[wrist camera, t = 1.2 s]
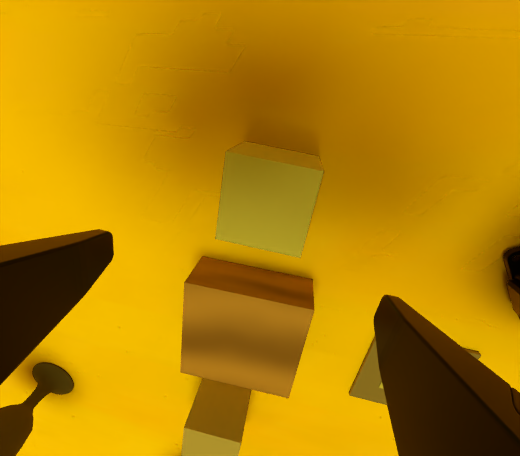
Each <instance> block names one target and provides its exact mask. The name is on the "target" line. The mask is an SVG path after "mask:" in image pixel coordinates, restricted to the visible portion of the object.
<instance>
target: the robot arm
mask: <svg viewBox="0 0 520 456" xmlns="http://www.w3.org/2000/svg"><path fill="white" fill-rule="evenodd" d="M113 255H114V251H113V236H112V234H111V233H110V232H109V231H104V230H100V229H97V230H91V231H85V232H79V233H73V234H67V235H61V236H55V237H49V238H43V239H37V240H31V241H25V242H19V243H13V244H7V245H1V246H0V385H1V384H2V383H3V382H4V381H5V380H6V378H7V377H8V376H9V375H10V374H11V373H12V372H13V371H14V370H15V369H16V368H17V367H18V366H19V365H20V364H21V363H22V361H23V360H24V359H25V358H26V357H27V356H28V355H29V354H30V353H31V352H32V351H33V350H34V349H35V348H36V347H37V346H38V345H39V343H40V342H41V341H42V340H43V339H44V338H45V337H46V336H47V335H48V334H49V333H50V332H51V331H52V330H53V329H54V328H55V326H56V325H57V324H58V323H59V322H60V321H61V320H62V319H63V318H64V317H65V316H66V315H67V314H68V313H69V312H70V311H71V310H72V308H73V307H74V306H75V305H76V304H77V303H78V302H79V301H80V300H81V299H82V298H83V297H84V295H85V294H86V293H87V292H88V291H89V289H90V288H91V287H92V285H93V284H94V283H95V281H96V280H97V279H98V278H99V276H100V275H101V274H102V272H103V271H104V270H105V268H106V267H107V266H108V265H109V263H110V262H111V260H112V258H113ZM515 255H516V257H515V258H513V259H512V257H513V256H515ZM503 258H504V262H505V266H506V269H507V273H508V277H509V280H508V282H507V288H508V291H509V295H510V299H511V302H512V306H513V309H514V311H515V312H516V313H517V314H518V315H519V318H520V246H519V247H516V248H513V249H510V250H508V251H507V252H505V254H504V256H503ZM374 330H375V339H376V348H377V357H378V365H379V371H380V376H381V380H382V384H383V389H384V393H385V397H386V402H387V406H388V411H389V415H390V419H391V424H392V428H393V433H394V437H395V441H396V446H397V450H398V455H399V456H520V393H519V392H518V391H517V390H516V389H514V388H511V387H510V385H509V384H508V383H507V382H505V381H504V380H503V379H502V378H500V377H499V376H498V375H496V374H495V373H494V372H493V371H491V370H490V369H489V368H488V367H486V366H485V365H484V364H483V363H481V362H480V361H479V360H477V359H476V358H475V357H474V356H472V355H471V354H470V353H469V352H467V351H466V350H465V349H464V348H462V347H461V346H460V345H458V344H457V343H456V342H455V341H453V340H452V339H451V338H450V337H448V336H447V335H446V334H445V333H443V332H442V331H441V330H439V329H438V328H437V327H436V326H434V325H433V324H432V323H431V322H429V321H428V320H427V319H425V318H424V317H423V316H422V315H420V314H419V313H418V312H417V311H415V310H414V309H413V308H412V307H410V306H409V305H408V304H406V303H405V302H404V301H403V300H401V299H400V298H399V297H395V296H391V295H384V296H383V297H382V299H381V301H380V304H379V306H378V308H377V310H376V313H375V315H374Z"/></svg>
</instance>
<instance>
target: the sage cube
mask: <svg viewBox="0 0 520 456" xmlns="http://www.w3.org/2000/svg"><path fill="white" fill-rule="evenodd" d="M323 174H324V170H323V167H322V164H321V161H320V158H319V156H316V155H311V154H306V153H301V152H296V151H291V150H286V149H281V148H276V147H271V146H266V145H261V144H256V143H251V142H246V141H244V142H242V143H240V144H238V145H237V146H235V147H233V148H231V149H229V150H227V151H226V153H225V161H224V170H223V178H222V186H221V195H220V203H219V212H218V220H217V228H216V237H215V239H218V240H223V241H227V242H232V243H236V244H241V245H245V246H249V247H254V248H258V249H263V250H267V251H272V252H276V253H281V254H285V255H290V256H294V257H298V258H301V254H302V251H303V247H304V243H305V240H306V236H307V232H308V229H309V225H310V221H311V218H312V214H313V210H314V207H315V203H316V199H317V196H318V192H319V188H320V185H321V181H322V177H323Z"/></svg>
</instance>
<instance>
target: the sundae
mask: <svg viewBox="0 0 520 456" xmlns="http://www.w3.org/2000/svg"><path fill="white" fill-rule="evenodd" d="M32 372H33V377H34V379H35V380H36V381H37V382H38V385H37V387H36V389H35V390H34V392H33V393H32V394H31V395H30V396H29V397H28V398H27V399H26V400H25V401H24V402H23V403H22V404H18V405H9V406H6V407H3V408H0V456H16V454H17V453H18V452H19V450H20V449H21V447H22V446H23V444H24V443H25V441H26V439H27V438H28V436H29V434H30V433H31V431H32V427H33V408H34V407H35V406H36V405H37V404H38V403H39V402H40V401H41V400H42V399H43V398H44V397H45V396H46V395H47V394H49V393H50V392H52V393H55V394H61V395H62V394H67V393H70V392H71V391H72V390H73V381H72V378H71V377H70V376H69V374H68V373H67V372H66V371H64V370H63V369H62V368H60V367H58V366H56V365H54V364H50V363H39V364H37V365H35V366H34V368H33V371H32Z"/></svg>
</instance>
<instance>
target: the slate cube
mask: <svg viewBox="0 0 520 456" xmlns="http://www.w3.org/2000/svg"><path fill="white" fill-rule="evenodd" d="M250 393H251V389H248V388H244V387H240V386H235V385H231V384H227V383H223V382H219V381H214V380H210V379H206V378H203V379H202V381H201V384H200V387H199V389H198V392H197V395H196V397H195V400H194V403H193V405H192V408H191V411H190V413H189V416H188V419H187V421H186V424H185V426H184V433H183V444H182V454H181V456H238V454H239V450H240V446H241V441H242V436H243V430H244V425H245V420H246V415H247V409H248V404H249V399H250Z"/></svg>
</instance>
